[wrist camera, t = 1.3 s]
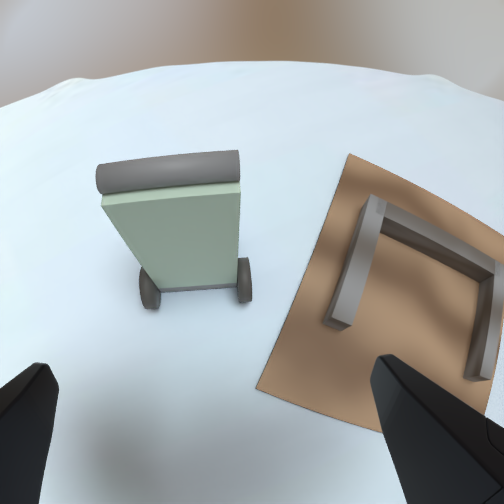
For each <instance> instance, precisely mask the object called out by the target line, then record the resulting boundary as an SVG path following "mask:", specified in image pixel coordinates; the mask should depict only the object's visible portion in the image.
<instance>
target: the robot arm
mask: <svg viewBox="0 0 504 504" xmlns="http://www.w3.org/2000/svg"><path fill="white" fill-rule="evenodd" d="M370 385H371V389H372V393H373V397H374V401H375V405H376V409H377V413H378V417H379V421H380V425H381V429H382V432H383V435H384V438H385V441H386V443H387V446H388V449H389V452H390V454H391V457H392V460H393V463H394V466H395V469H396V472H397V475H398V477H399V480H400V483H401V486H402V489H403V492H404V495H405V498H406V502H407V504H504V428H503V427H501V426H500V425H498V424H496V423H495V422H493V421H492V420H490V419H489V418H486V417H485V416H484V415H483V414H481V413H480V412H478V411H477V410H475V409H474V408H472V407H471V406H469V405H468V404H466V403H465V402H463V401H462V400H460V399H459V398H457V397H456V396H454V395H453V394H451V393H450V392H448V391H447V390H445V389H444V388H442V387H441V386H439V385H438V384H436V383H435V382H433V381H432V380H430V379H429V378H427V377H426V376H424V375H423V374H421V373H420V372H418V371H417V370H415V369H414V368H413V367H411V366H410V365H408V364H407V363H405V362H404V361H402V360H401V359H399V358H398V357H396V356H395V355H393V354H385V355H379V356H378V357H377V358H376V360H375V364H374V367H373V370H372V373H371V376H370ZM58 394H59V386H58V382H57V381H56V379H55V377H54V375H53V373H52V371H51V369H50V367H49V365H47V364H46V363H38V362H36V363H33V364H32V365H31V366H29V367H28V368H27V369H25V370H24V371H23V372H21V373H20V374H19V375H17V376H16V377H15V378H13V379H12V380H11V381H9V382H8V383H7V384H5V385H4V386H3V387H2V388H0V504H39V499H40V492H41V486H42V481H43V475H44V470H45V465H46V460H47V456H48V451H49V447H50V442H51V438H52V432H53V426H54V419H55V412H56V406H57V399H58Z"/></svg>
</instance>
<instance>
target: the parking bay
mask: <svg viewBox="0 0 504 504" xmlns="http://www.w3.org/2000/svg"><path fill="white" fill-rule="evenodd" d="M503 319H504V236H503V235H501V234H500V233H498V232H497V231H495V230H494V229H492V228H490V227H489V226H487V225H486V224H484V223H482V222H481V221H479V220H478V219H476V218H474V217H473V216H471V215H469V214H468V213H466V212H464V211H463V210H461V209H459V208H457V207H456V206H454V205H452V204H450V203H449V202H447V201H445V200H443V199H441V198H440V197H438V196H436V195H434V194H432V193H430V192H429V191H427V190H425V189H423V188H421V187H419V186H417V185H415V184H413V183H411V182H409V181H407V180H405V179H403V178H401V177H399V176H397V175H395V174H393V173H391V172H389V171H387V170H385V169H383V168H381V167H379V166H377V165H374V164H372V163H370V162H368V161H366V160H363V159H361V158H359V157H357V156H354V155H352V154H350V153H349V155H348V158H347V161H346V164H345V167H344V170H343V173H342V176H341V179H340V181H339V184H338V187H337V190H336V193H335V195H334V198H333V201H332V204H331V206H330V209H329V212H328V215H327V217H326V220H325V223H324V225H323V228H322V231H321V233H320V236H319V239H318V241H317V244H316V246H315V249H314V252H313V254H312V257H311V259H310V262H309V264H308V267H307V269H306V272H305V275H304V277H303V280H302V282H301V284H300V287H299V289H298V292H297V294H296V297H295V299H294V302H293V304H292V306H291V309H290V311H289V314H288V316H287V318H286V321H285V323H284V326H283V328H282V330H281V333H280V335H279V337H278V340H277V342H276V344H275V346H274V349H273V351H272V353H271V356H270V358H269V360H268V362H267V365H266V367H265V369H264V371H263V373H262V376H261V378H260V380H259V382H258V385H257V387H256V389H258V390H261V391H263V392H266V393H268V394H271V395H273V396H276V397H278V398H281V399H283V400H286V401H288V402H291V403H294V404H296V405H299V406H302V407H304V408H307V409H310V410H313V411H316V412H318V413H321V414H324V415H327V416H330V417H333V418H336V419H339V420H342V421H345V422H348V423H352V424H355V425H358V426H361V427H365V428H368V429H371V430H375V431H378V432H382V429H381V425H380V421H379V417H378V413H377V409H376V405H375V401H374V397H373V393H372V389H371V385H370V376H371V373H372V370H373V367H374V364H375V360H376V358H377V357H378V356H379V355H385V354H393V355H395V356H396V357H398V358H399V359H401V360H402V361H404V362H405V363H407V364H408V365H410V366H411V367H413V368H414V369H415V370H417V371H418V372H420V373H421V374H423V375H424V376H426V377H427V378H429V379H430V380H432V381H433V382H435V383H436V384H438V385H439V386H441V387H442V388H444V389H445V390H447V391H448V392H450V393H451V394H453V395H454V396H456V397H457V398H459V399H460V400H462V401H463V402H465V403H466V404H468V405H469V406H471V407H472V408H474V409H475V410H477V411H478V412H480V413H481V414H483V415H484V414H485V410H486V407H487V403H488V399H489V395H490V391H491V387H492V383H493V378H494V374H495V369H496V364H497V359H498V353H499V347H500V341H501V334H502V327H503ZM382 433H383V432H382Z"/></svg>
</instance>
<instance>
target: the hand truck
mask: <svg viewBox="0 0 504 504" xmlns="http://www.w3.org/2000/svg"><path fill="white" fill-rule="evenodd" d="M96 185H97V189H98V191H99V193H100V194H103V195H102V202H101V207H102V208H103V210H104V211H105V213H106V214H107V216H108V217H109V219H110V220H111V222H112V223H113V225H114V226H115V228H116V229H117V231H118V232H119V234H120V235H121V237H122V238H123V240H124V241H125V243H126V244H127V246H128V247H129V248H130V250H131V251H132V253H133V254H134V256H135V257H136V258H137V260H138V261H139V263H140V264H141V265H142V267H141V270H140V276H139V287H140V295H141V300H142V303H143V306H144V308H145V309H157V308H159V306H160V300H161V292H176V291H191V290H204V289H217V288H230V287H237V288H238V297H239V302H240V303H241V302H251V301H252V282H251V272H250V264H249V259H248V257H246V258H238V242H239V219H240V197H241V191H240V160H239V152H238V150H229V151H213V152H200V153H189V154H178V155H168V156H159V157H150V158H142V159H134V160H127V161H119V162H112V163H106V164H99V165H98V166H97V169H96Z"/></svg>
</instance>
